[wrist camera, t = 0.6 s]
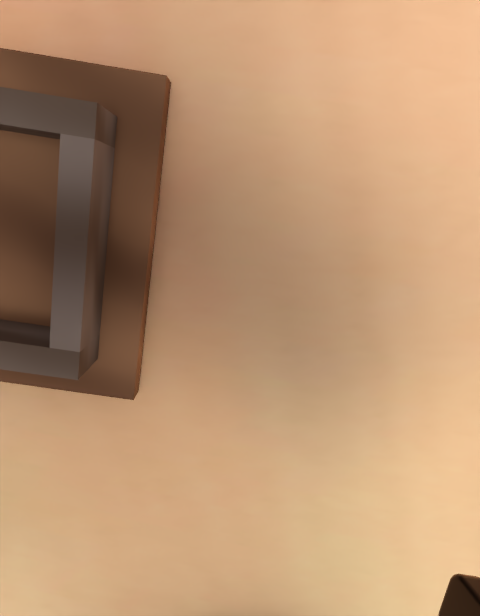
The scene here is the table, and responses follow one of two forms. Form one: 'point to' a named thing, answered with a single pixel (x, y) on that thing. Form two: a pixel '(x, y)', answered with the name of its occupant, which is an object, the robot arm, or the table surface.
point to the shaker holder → (77, 220)
